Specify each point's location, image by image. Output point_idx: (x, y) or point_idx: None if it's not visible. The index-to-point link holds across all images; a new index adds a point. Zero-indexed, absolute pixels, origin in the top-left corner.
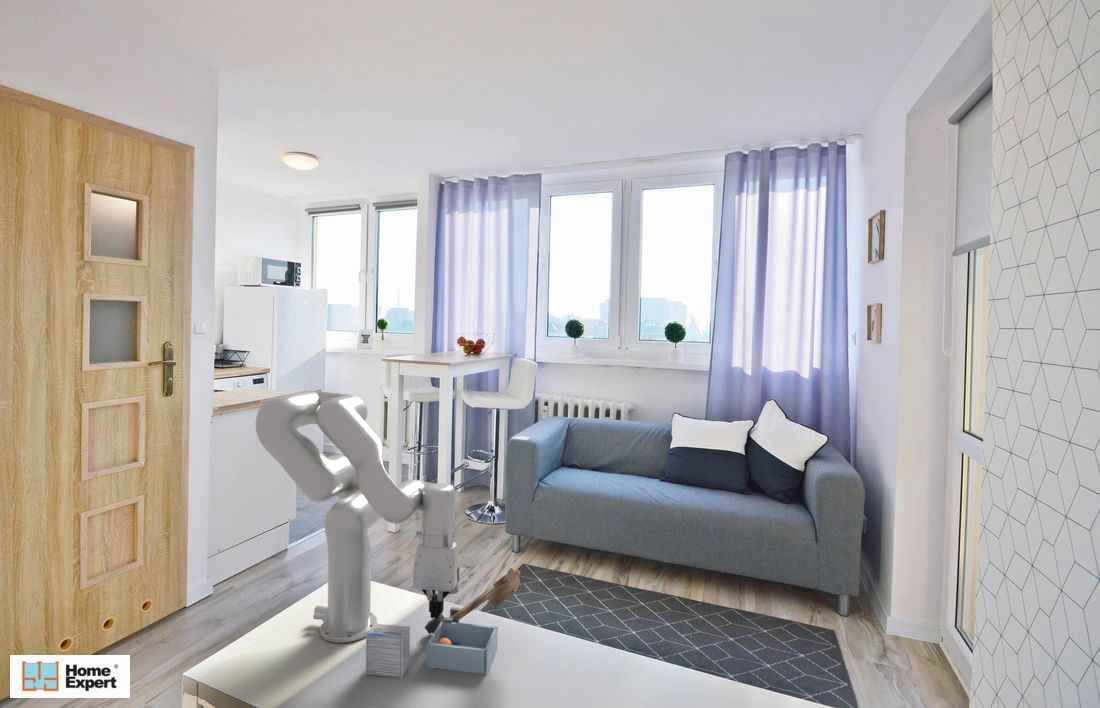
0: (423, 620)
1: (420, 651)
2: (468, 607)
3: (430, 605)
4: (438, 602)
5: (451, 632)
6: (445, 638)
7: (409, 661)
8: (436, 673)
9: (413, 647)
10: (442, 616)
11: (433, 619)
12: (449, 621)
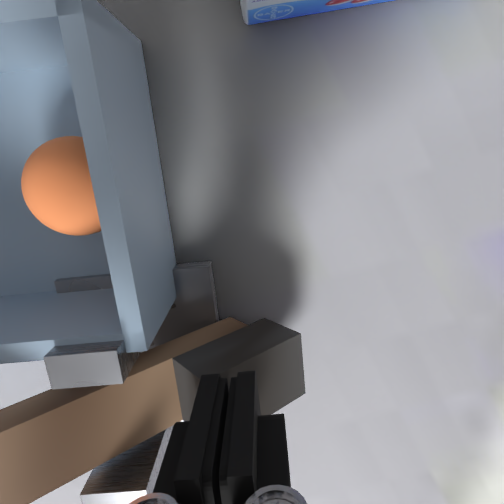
0: (371, 443)
1: (251, 180)
2: None
3: (273, 455)
4: (183, 494)
5: (84, 311)
6: (51, 203)
7: (241, 9)
8: None
9: (309, 204)
10: None
11: None
12: (70, 350)
